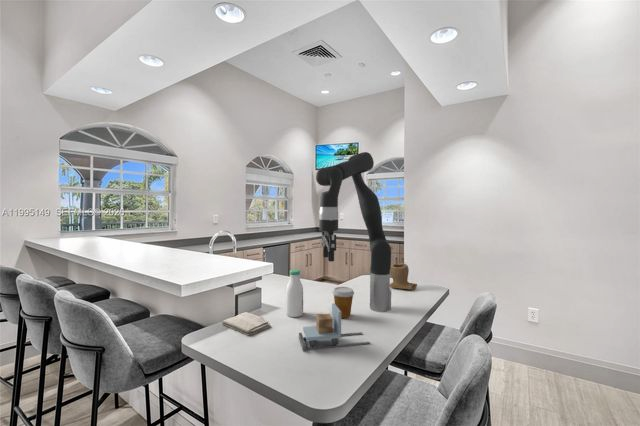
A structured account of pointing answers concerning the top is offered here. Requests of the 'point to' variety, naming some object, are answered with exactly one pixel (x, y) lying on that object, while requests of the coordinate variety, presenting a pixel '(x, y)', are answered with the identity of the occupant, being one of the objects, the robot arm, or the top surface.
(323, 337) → the pale blue l-shaped block
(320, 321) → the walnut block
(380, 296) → the robot arm
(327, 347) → the rails
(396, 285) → the tan boot
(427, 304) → the top surface
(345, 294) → the disposable coffee cup
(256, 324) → the washcloth
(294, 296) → the milk bottle
